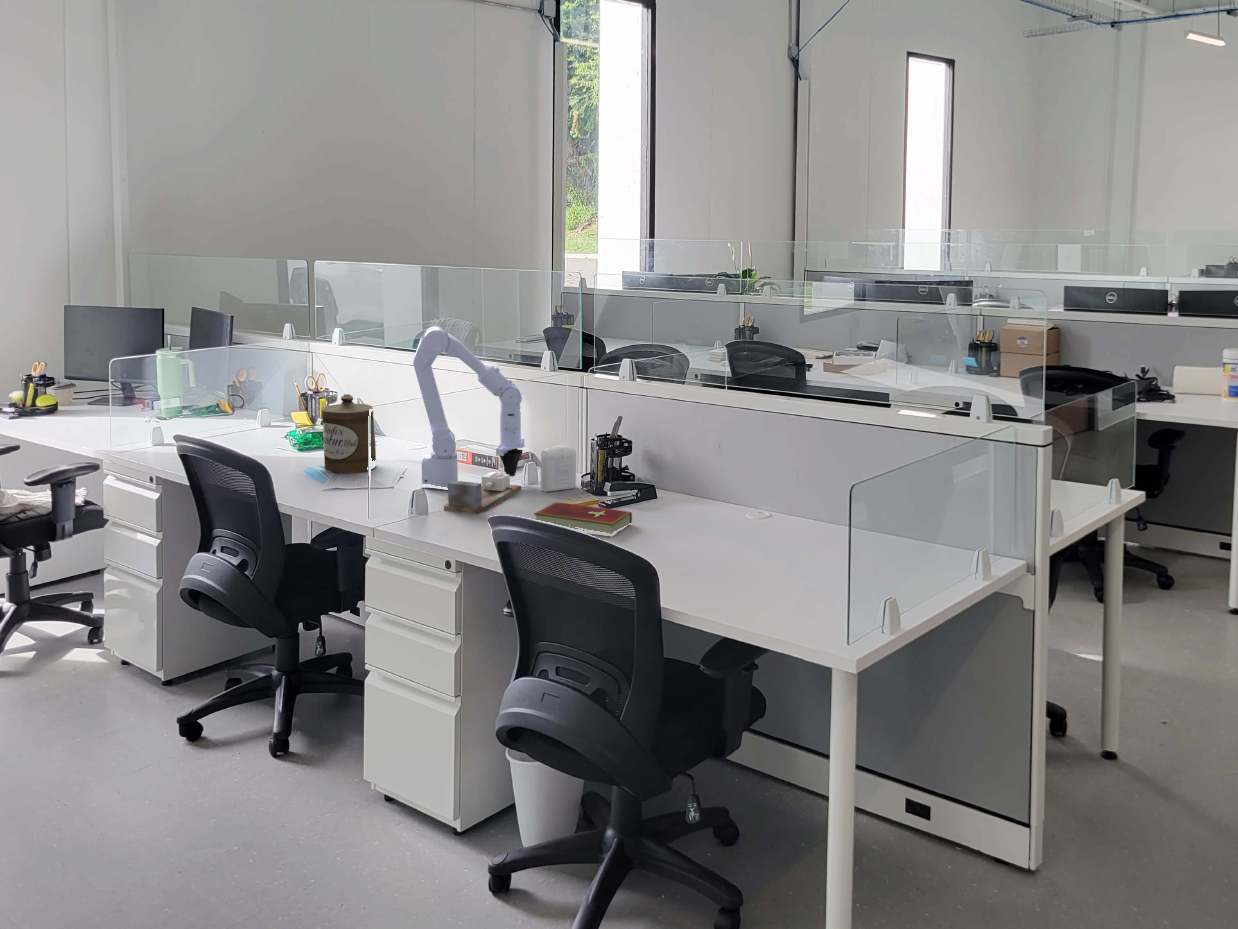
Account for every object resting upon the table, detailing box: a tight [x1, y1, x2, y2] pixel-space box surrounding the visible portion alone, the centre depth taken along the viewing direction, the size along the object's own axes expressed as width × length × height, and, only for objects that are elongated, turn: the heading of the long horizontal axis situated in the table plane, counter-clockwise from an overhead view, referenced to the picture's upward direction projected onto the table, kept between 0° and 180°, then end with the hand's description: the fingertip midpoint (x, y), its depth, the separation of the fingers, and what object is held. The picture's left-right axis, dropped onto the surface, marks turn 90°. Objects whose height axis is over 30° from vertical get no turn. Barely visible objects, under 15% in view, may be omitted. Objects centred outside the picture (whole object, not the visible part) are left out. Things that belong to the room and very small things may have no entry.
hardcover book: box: [533, 501, 633, 534], centre depth 265 cm, size 12×21×4 cm, turn 67°
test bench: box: [443, 480, 522, 515], centre depth 287 cm, size 10×26×7 cm, turn 161°
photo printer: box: [540, 444, 577, 493], centre depth 298 cm, size 10×4×12 cm, turn 123°
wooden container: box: [321, 393, 377, 474], centre depth 317 cm, size 15×15×22 cm
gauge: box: [481, 471, 512, 491], centre depth 292 cm, size 8×8×4 cm
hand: (510, 475), depth 302 cm, fingers closed
